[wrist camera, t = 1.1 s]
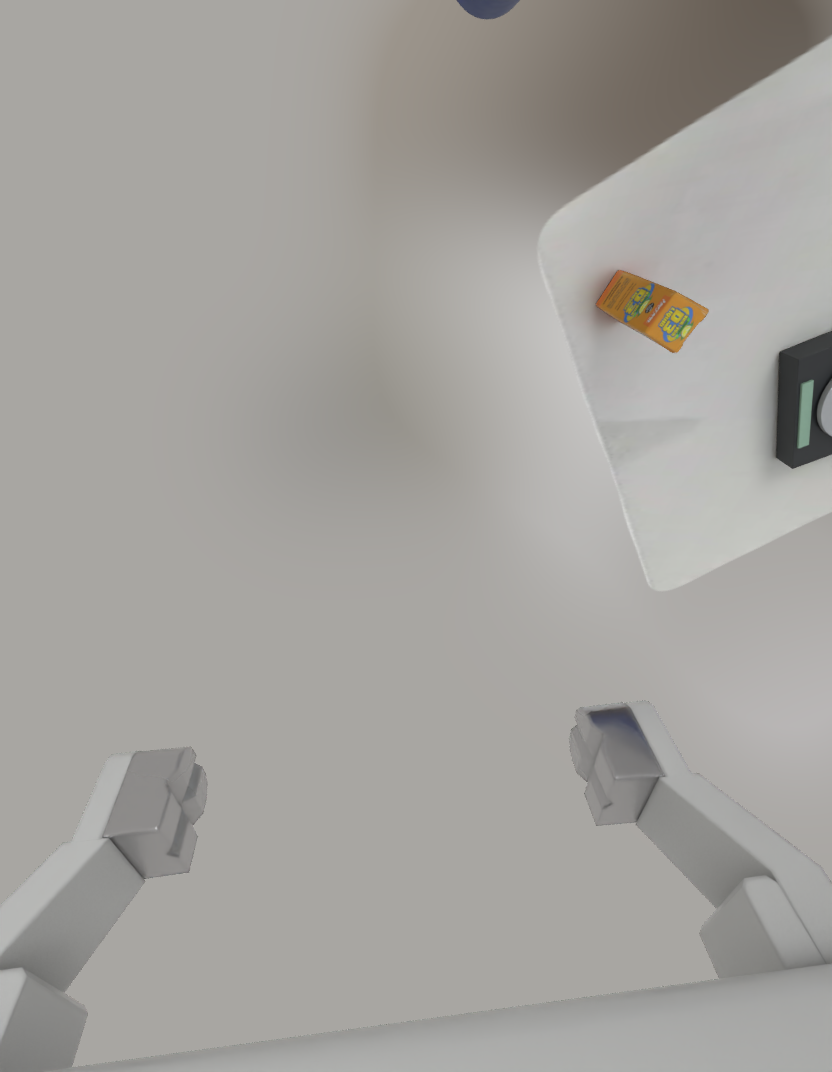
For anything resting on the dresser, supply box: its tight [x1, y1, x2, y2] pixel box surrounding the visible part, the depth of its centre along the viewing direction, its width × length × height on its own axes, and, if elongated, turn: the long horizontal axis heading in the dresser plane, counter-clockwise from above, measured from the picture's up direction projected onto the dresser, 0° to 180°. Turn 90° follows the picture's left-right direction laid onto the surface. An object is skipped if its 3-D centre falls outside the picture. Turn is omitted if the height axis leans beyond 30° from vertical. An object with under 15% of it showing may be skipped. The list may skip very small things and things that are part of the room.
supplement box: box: [596, 270, 709, 353], centre depth 38 cm, size 3×3×10 cm
